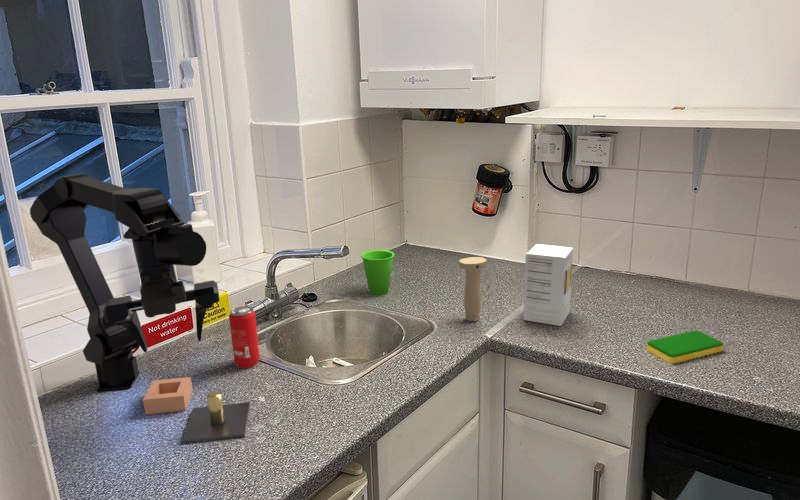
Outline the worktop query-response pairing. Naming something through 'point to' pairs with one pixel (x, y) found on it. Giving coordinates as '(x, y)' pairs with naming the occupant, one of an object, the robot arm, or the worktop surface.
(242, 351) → the beverage can
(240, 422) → the black plate with peg
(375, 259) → the cup
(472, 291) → the handle
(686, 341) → the dish sponge
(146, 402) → the ring
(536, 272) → the supplement box
